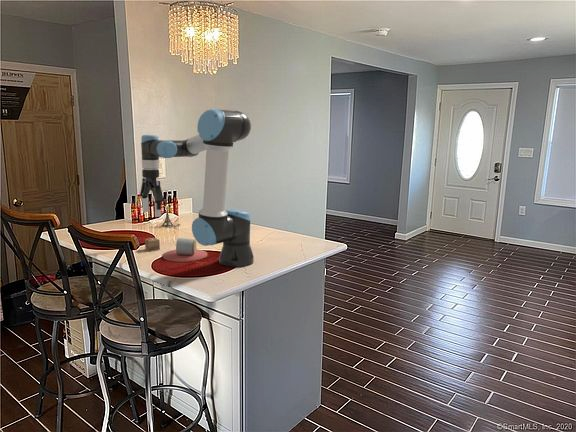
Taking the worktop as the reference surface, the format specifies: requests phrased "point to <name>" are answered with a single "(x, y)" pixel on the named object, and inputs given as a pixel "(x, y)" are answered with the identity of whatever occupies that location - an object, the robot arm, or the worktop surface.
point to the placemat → (184, 256)
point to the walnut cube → (152, 244)
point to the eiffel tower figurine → (168, 221)
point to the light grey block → (185, 246)
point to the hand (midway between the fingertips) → (151, 214)
